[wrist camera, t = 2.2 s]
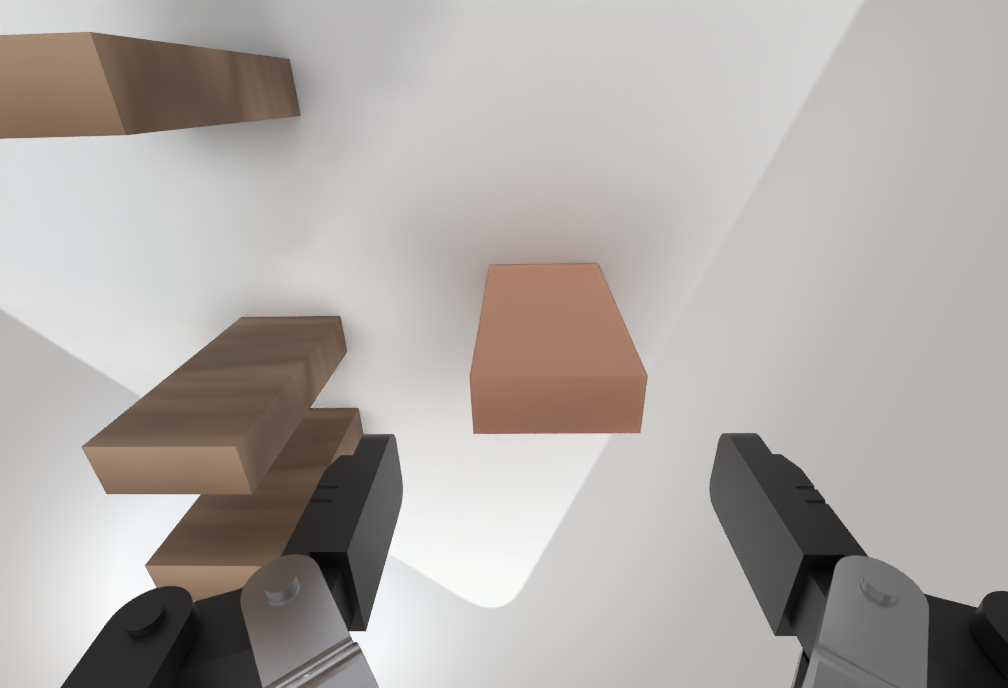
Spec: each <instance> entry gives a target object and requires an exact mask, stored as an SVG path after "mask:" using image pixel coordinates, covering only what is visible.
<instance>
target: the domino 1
mask: <svg viewBox="0 0 1008 688" xmlns="http://www.w3.org/2000/svg"><path fill="white" fill-rule="evenodd" d="M292 116H300V111H299V106H298V101H297V96H296V91H295V86H294V81H293V76H292V71H291V66H290V60H289V59H284V58H277V57H269V56H262V55H255V54H247V53H240V52H233V51H225V50H218V49H211V48H203V47H196V46H189V45H181V44H174V43H167V42H159V41H152V40H145V39H137V38H130V37H123V36H115V35H108V34H101V33H93V32H77V33H50V34H23V35H0V139H3V138H39V137H74V136H109V135H131V134H140V133H149V132H158V131H166V130H175V129H184V128H193V127H202V126H211V125H220V124H229V123H238V122H247V121H256V120H265V119H274V118H283V117H292Z"/></svg>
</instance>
